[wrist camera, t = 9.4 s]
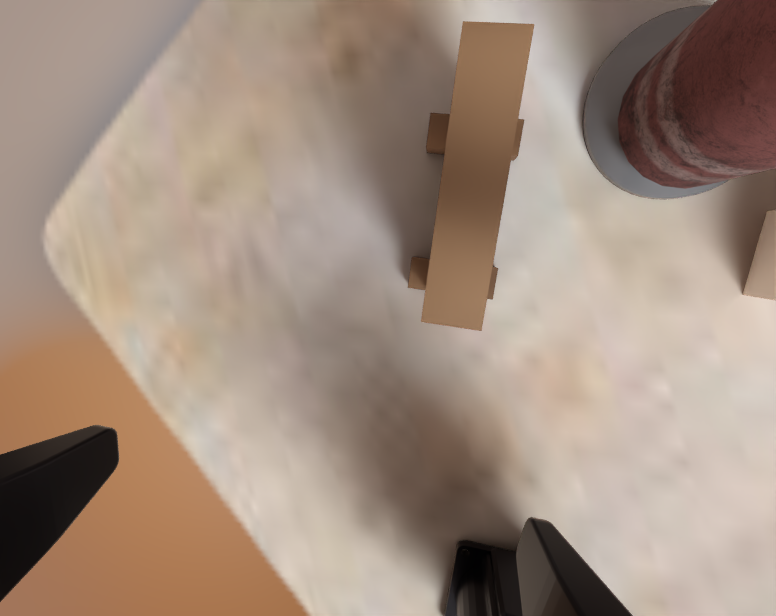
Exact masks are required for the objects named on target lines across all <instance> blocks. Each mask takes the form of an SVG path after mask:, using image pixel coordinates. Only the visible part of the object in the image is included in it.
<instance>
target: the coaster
mask: <svg viewBox="0 0 776 616" xmlns="http://www.w3.org/2000/svg"><path fill="white" fill-rule="evenodd" d="M709 7H710V6H692V7H686V8H680V9H677V10H674V11H670V12H667V13H665V14H662V15H660V16H658V17H655V18H653V19H652V20H650V21H648V22H646V23H645V24H643V25H641V26H640V27H638V28H637V29H636V30H634V31H633V32H632V33H630V34H629V35H628V36H627V37H626V38H625V39H624V40H623V41H622V42H620V44H619V45H618V46H617V47H616V48H615V49H614V50H613V51H612V53H611V54H610V55H609V56H608V57H607V58H606V60H605V61H604V63H603V64H602V66H601V67H600V68H599V70H598V72H597V74H596V75H595V77H594V79H593V81H592V83H591V86H590V88H589V91H588V94H587V98H586V101H585V106H584V113H583V132H584V139H585V143H586V147H587V150H588V152H589V154H590V157H591V159H592V161H593V162H594V164H595V166H596V167H597V169H598V170H599V171H600V172H601V173H602V175H603V176H604V177H605V178H606V179H608V180H609V181H610V182H611V183H612V184H614V185H615V186H617V187H618V188H620V189H621V190H624V191H626V192H628V193H630V194H633V195H636V196H640V197H644V198H650V199H676V198H682V197H686V196H691V195H696V194H699V193H702V192H705V191H708V190H711V189H713V188H715V187H717V186H719V185H722V184H723V183H725V182H727V181H728V180H725V181H721V182H717V183H713V184H708V185H703V186H697V187H692V188H686V189H683V188H675V187H666V186H661V185H659V184H657V183H655V182H653V181H651V180H649V179H647V178H645V177H643V176H642V175H641V174H640V173H639V172H638V171H637V170H636V169H635V168H634V167H633V166H632V165H631V164H630V163H629V162H628V160H627V158H626V156H625V153H624V151H623V149H622V147H621V145H620V142H619V131H618V116H619V111H620V107H621V103H622V98H623V96H624V94H625V92H626V90H627V88H628V87H629V85H630V83H631V81H632V80H633V78H634V76H635V74H636V73H637V72H638V71H639V70H640V69H641V68H642V67H643V66H644V65H645V64H646V63H647V62H648V61H649V60H651V59H652V58H653V57H654V56H655V55H656V54H657V53H658V52H659V51H660V50H661V49H663V48H664V47H665V46H666V45H667V44H668V43H669V42H671V41H672V40H673V39H674V38H675V37H676V36H677V35H678V34H680V33H681V32H682V31H683V30H684V29H685V28H686V27H688V26H689V25H690V24H691V23H692V22H693V21H694V20H695V19H697V18H698V17H699V16H700V15H701V14H702V13H703V12H705V11H706V10H707V9H708V8H709ZM729 180H730V179H729Z"/></svg>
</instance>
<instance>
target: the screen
mask: <svg viewBox="0 0 776 616" xmlns="http://www.w3.org/2000/svg"><path fill="white" fill-rule="evenodd" d="M533 29H534V24H516V23H490V22H464V21H463V25H462V32H461V39H460V47H459V54H458V61H457V68H456V75H455V82H454V90H453V97H452V104H451V111H450V114H440V113H431V114H430V122H429V130H428V137H427V145H426V150H427V153H434V154H444V161H443V168H442V175H441V183H440V190H439V197H438V204H437V211H436V218H435V226H434V233H433V240H432V247H431V254H430V259H427V258H419V257H412V260H411V268H410V275H409V283H408V288H414V289H421V290H425V297H424V304H423V312H422V319H421V322H426V323H432V324H439V325H446V326H452V327H459V328H466V329H472V330H479V331H481V330H482V324H483V318H484V312H485V307H486V301H487V299H493V294H494V288H495V283H496V277H497V271H498V268H496V267H492V266H493V260H494V255H495V249H496V243H497V237H498V232H499V226H500V220H501V214H502V208H503V203H504V197H505V191H506V185H507V179H508V174H509V168H510V162H511V160H515V159H516V157H517V156H518V152H519V146H520V141H521V135H522V129H523V124H524V120H523V119H518V116H519V110H520V104H521V98H522V93H523V87H524V81H525V75H526V70H527V64H528V58H529V52H530V46H531V41H532V35H533Z"/></svg>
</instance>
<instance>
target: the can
mask: <svg viewBox="0 0 776 616" xmlns="http://www.w3.org/2000/svg"><path fill="white" fill-rule="evenodd" d="M618 131H619V142H620V145H621V147H622V149H623V151H624V153H625V156H626V158H627V160H628V162H629V163H630V164H631V165H632V166H633V167H634V168H635V169H636V170H637V171H638V172H639V173H640V174H641V175H642V176H643V177H645V178H647V179H649V180H651V181H653V182H655V183H657V184H659V185H661V186H666V187H675V188H683V189H686V188H692V187H697V186H703V185H708V184H713V183H717V182H721V181H725V180H729V179H733V178H737V177H742V176H746V175H750V174H754V173H758V172H762V171H766V170H771V169H775V168H776V0H717V1H716V2H715V3H714V4H713V5H711V6H710V7H709V8H708V9H707V10H706V11H705V12H703V13H702V14H701V15H700V16H699V17H698V18H697V19H695V20H694V21H693V22H692V23H691V24H690V25H689V26H688V27H686V28H685V29H684V30H683V31H682V32H681V33H680V34H678V35H677V36H676V37H675V38H674V39H673V40H672V41H671V42H669V43H668V44H667V45H666V46H665V47H664V48H663V49H661V50H660V51H659V52H658V53H657V54H656V55H655V56H654V57H653V58H652V59H651V60H649V61H648V62H647V63H646V64H645V65H644V66H643V67H642V68H641V69H640V70H639V71H638V72H637V73H636V74H635V76H634V78H633V80H632V81H631V83H630V85H629V87H628V88H627V90H626V92H625V94H624V96H623V98H622V103H621V107H620V111H619V116H618Z"/></svg>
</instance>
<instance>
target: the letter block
mask: <svg viewBox="0 0 776 616" xmlns="http://www.w3.org/2000/svg"><path fill="white" fill-rule="evenodd" d="M743 295H747V296H753V297H759V298H765V299H771V300H776V210H770V211H767V213H766V217H765V220H764V223H763V227H762V230H761V234H760V237H759V240H758V244H757V247H756V251H755V254H754V257H753V261H752V264H751V268H750V271H749V275H748V278H747V281H746V285H745V288H744V292H743Z"/></svg>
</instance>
